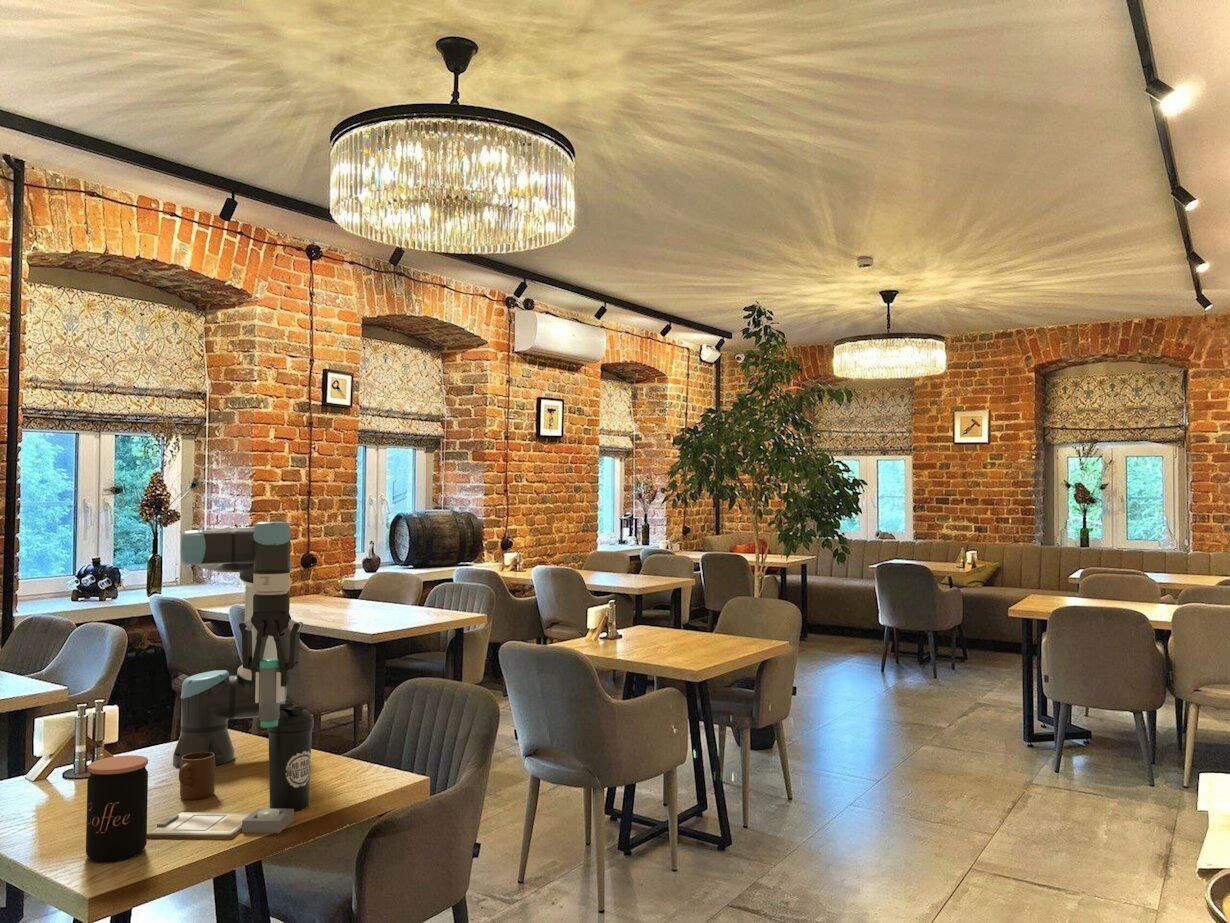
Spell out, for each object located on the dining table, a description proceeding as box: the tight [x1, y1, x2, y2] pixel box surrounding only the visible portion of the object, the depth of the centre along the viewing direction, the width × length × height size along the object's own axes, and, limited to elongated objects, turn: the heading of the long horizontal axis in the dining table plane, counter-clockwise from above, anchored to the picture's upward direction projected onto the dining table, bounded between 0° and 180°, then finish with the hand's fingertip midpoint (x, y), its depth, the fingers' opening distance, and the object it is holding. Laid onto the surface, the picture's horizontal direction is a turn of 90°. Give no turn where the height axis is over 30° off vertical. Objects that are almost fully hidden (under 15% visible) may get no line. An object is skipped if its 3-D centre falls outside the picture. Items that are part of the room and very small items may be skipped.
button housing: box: [241, 807, 295, 834], centre depth 204 cm, size 8×8×2 cm
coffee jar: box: [85, 754, 149, 864], centre depth 188 cm, size 11×11×18 cm
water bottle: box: [266, 702, 315, 813], centre depth 217 cm, size 10×10×23 cm
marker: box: [258, 658, 280, 729], centre depth 204 cm, size 4×4×14 cm
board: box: [147, 811, 252, 840], centre depth 203 cm, size 14×18×2 cm
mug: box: [178, 752, 216, 801], centre depth 223 cm, size 12×8×9 cm, turn 178°
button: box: [257, 809, 279, 819], centre depth 204 cm, size 4×4×3 cm
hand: (269, 701), depth 205 cm, fingers closed on marker, 4 cm apart
